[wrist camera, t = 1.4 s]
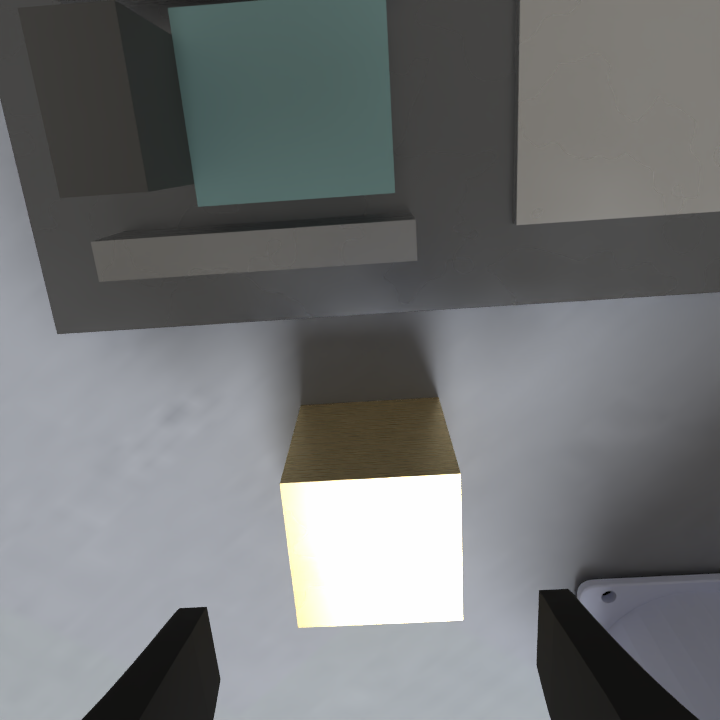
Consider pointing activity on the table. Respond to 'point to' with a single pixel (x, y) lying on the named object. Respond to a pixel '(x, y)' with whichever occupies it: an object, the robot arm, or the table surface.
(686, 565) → the table surface
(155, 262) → the press bed
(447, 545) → the block
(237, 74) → the teal and grey block
